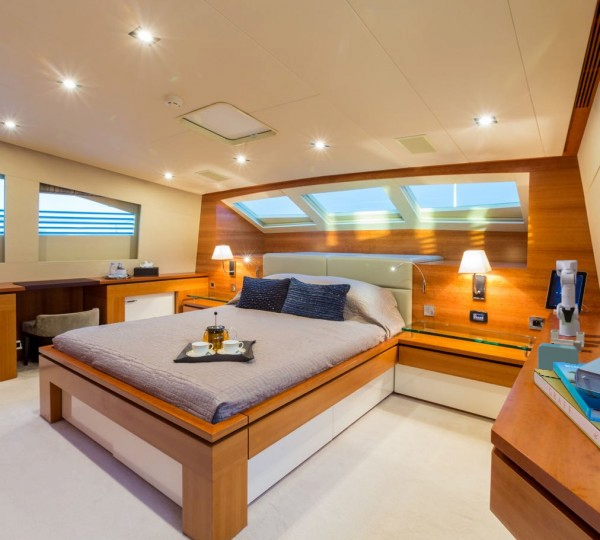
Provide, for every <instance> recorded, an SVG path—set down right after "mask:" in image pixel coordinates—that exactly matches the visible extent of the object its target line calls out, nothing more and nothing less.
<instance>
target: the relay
mask: <svg viewBox="0 0 600 540" xmlns="http://www.w3.org/2000/svg"><path fill="white" fill-rule="evenodd" d="M573 346H574V347H576V348H577V349H578V351H581V352H582V348H583V347H582V342H581V341H576V340H574V342H573Z"/></svg>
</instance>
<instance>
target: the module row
mask: <svg viewBox="0 0 600 540" xmlns="http://www.w3.org/2000/svg"><path fill="white" fill-rule="evenodd" d="M559 333H560V329H551V330H550V344H551V343H554V344H557V345H566V346H573V342H574V341H581V342H582V348H584V347H585V332H584V331H580V332H577V333H576V336H575V340H572V339H564V338H563V339H562V338H560V335H559Z"/></svg>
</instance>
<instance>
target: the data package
mask: <svg viewBox="0 0 600 540" xmlns="http://www.w3.org/2000/svg"><path fill="white" fill-rule="evenodd" d="M579 353H580V352H579V351H578V349H577V348H576V347H574V346H570V345H561V344H551V343H549V342H548V343H547V342H543V343H540V344H539V346H538V347H537V370H538V369H542V370H549V371H552V370H553V362H565V363H570V364H576V365H577V364H580V363H579V362H580V361H579V359H580V358H579Z"/></svg>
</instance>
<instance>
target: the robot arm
mask: <svg viewBox="0 0 600 540" xmlns="http://www.w3.org/2000/svg"><path fill="white" fill-rule="evenodd" d="M555 262H556V269H555V270H556V274H557V276H558V277H560V287H561V302H559V303H558V304H557V306H556V318H557V319H559V336H564V337H568V338H569V337H576V333H577V332H581V323H580V321H579V320H578V319H579V307H578V305H577V304H576V284H577V273H578V260H576V259H575V260H574V259H573V260H571V259H570V260H569V259H568V260H558V259H557V260H556V261H555ZM562 312H563V314H564V318H565V322H567V323H571V319H572V315H573V313H575V326H567V325H562Z"/></svg>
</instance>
